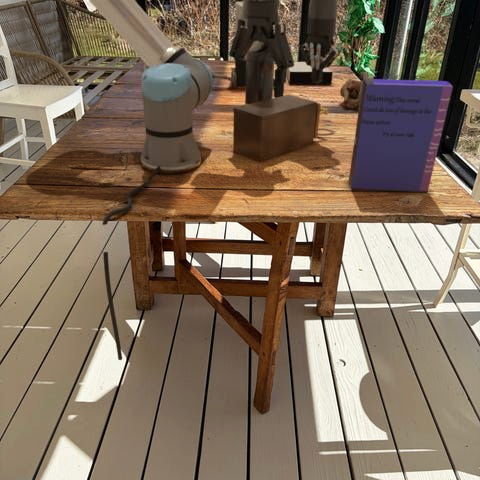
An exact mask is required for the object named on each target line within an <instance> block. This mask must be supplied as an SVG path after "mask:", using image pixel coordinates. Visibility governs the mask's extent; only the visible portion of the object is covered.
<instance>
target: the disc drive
mask: <svg viewBox="0 0 480 480" xmlns="http://www.w3.org/2000/svg"><path fill="white" fill-rule="evenodd" d="M293 62H294V66H293V67H291V68H288V69H287V74H286V79H287V80H288V84H289V85H332V82H333V71H331V69H329V67H328V68H324V69H323V75H322V81H321V82H320V83H313V82H312V79H311V75H312V68H311V66H308V65H307V64H306V62H305V61H293Z"/></svg>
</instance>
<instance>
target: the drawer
mask: <svg viewBox="0 0 480 480" xmlns="http://www.w3.org/2000/svg"><path fill="white" fill-rule="evenodd" d="M321 105H322V104H321V102H317V105H316V106H317V108H316V118H315V128H314V138H313V140H314V139H318V135H319V125H320V115H328V114H329V113H330V109H329V108H326V107H322V106H321Z"/></svg>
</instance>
